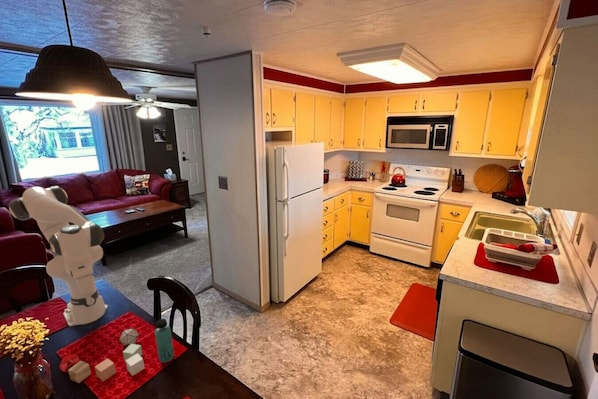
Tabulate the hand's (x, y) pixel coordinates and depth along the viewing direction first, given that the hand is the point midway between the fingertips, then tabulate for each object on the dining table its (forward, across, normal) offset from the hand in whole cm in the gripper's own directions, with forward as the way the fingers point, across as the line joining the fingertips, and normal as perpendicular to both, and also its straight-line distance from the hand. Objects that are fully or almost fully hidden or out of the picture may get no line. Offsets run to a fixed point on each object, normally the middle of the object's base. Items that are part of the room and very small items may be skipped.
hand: (86, 295), depth 121 cm
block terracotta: (+33, +10, 0) cm, 34 cm away
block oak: (+33, +4, -8) cm, 34 cm away
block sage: (+33, +8, +10) cm, 36 cm away
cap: (+33, -5, -11) cm, 35 cm away
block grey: (+33, +15, +9) cm, 38 cm away
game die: (+33, -2, +12) cm, 35 cm away
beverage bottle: (+34, +20, +21) cm, 44 cm away
